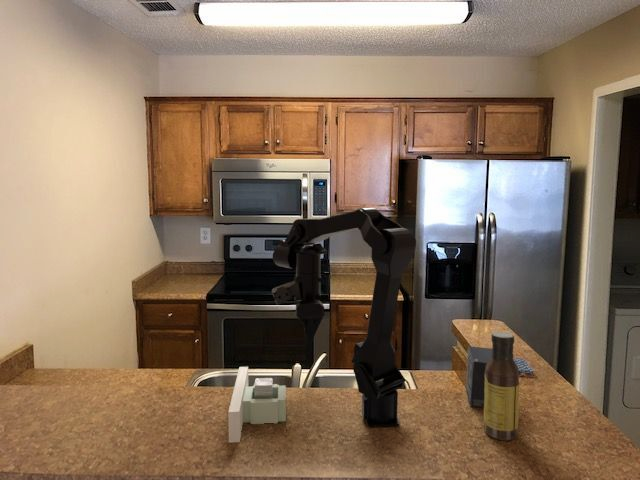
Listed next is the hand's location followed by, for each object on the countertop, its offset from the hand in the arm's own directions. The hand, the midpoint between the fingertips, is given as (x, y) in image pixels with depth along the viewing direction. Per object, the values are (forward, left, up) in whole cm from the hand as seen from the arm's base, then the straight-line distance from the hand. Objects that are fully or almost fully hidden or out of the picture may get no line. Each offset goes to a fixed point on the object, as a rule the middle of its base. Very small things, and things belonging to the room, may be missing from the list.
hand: (308, 336), depth 112 cm
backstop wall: (+15, +14, -12) cm, 24 cm away
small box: (-39, +10, -12) cm, 42 cm away
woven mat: (-54, -7, -13) cm, 56 cm away
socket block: (+10, +14, -12) cm, 21 cm away
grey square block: (+10, +14, -12) cm, 21 cm away
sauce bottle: (-36, +25, -12) cm, 45 cm away
